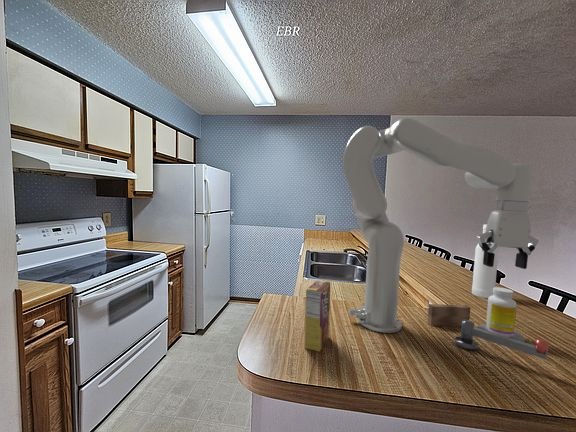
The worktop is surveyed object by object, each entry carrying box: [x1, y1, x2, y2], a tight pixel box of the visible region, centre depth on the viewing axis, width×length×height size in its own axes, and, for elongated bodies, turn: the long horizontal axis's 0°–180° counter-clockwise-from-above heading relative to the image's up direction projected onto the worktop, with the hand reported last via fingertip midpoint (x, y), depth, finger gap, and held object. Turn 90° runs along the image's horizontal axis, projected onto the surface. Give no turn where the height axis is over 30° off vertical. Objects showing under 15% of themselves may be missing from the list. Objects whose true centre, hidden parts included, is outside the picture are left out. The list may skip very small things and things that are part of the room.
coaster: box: [477, 323, 526, 343], centre depth 81 cm, size 11×11×1 cm
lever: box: [454, 319, 550, 360], centre depth 69 cm, size 18×5×7 cm, turn 43°
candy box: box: [304, 280, 331, 352], centre depth 72 cm, size 9×4×15 cm, turn 156°
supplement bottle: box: [485, 286, 517, 337], centre depth 81 cm, size 7×7×13 cm
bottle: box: [471, 223, 499, 299], centre depth 116 cm, size 8×8×30 cm
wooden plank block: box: [427, 303, 471, 327], centre depth 86 cm, size 12×2×6 cm, turn 92°
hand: (504, 266), depth 80 cm, fingers open, 9 cm apart
